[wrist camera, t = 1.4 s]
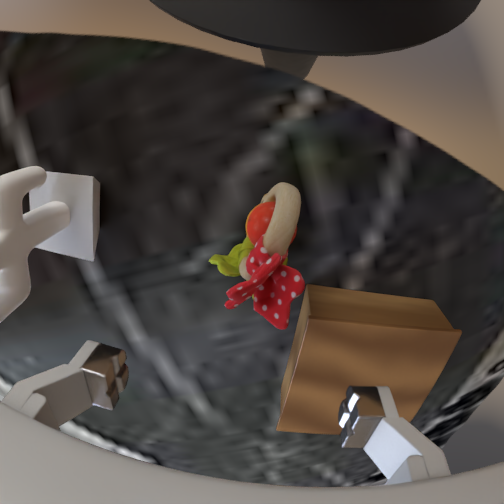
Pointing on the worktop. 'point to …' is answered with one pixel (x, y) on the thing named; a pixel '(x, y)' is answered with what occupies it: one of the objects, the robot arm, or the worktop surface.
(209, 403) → the worktop surface
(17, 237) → the figurine
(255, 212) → the bird rattle
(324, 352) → the wooden block
